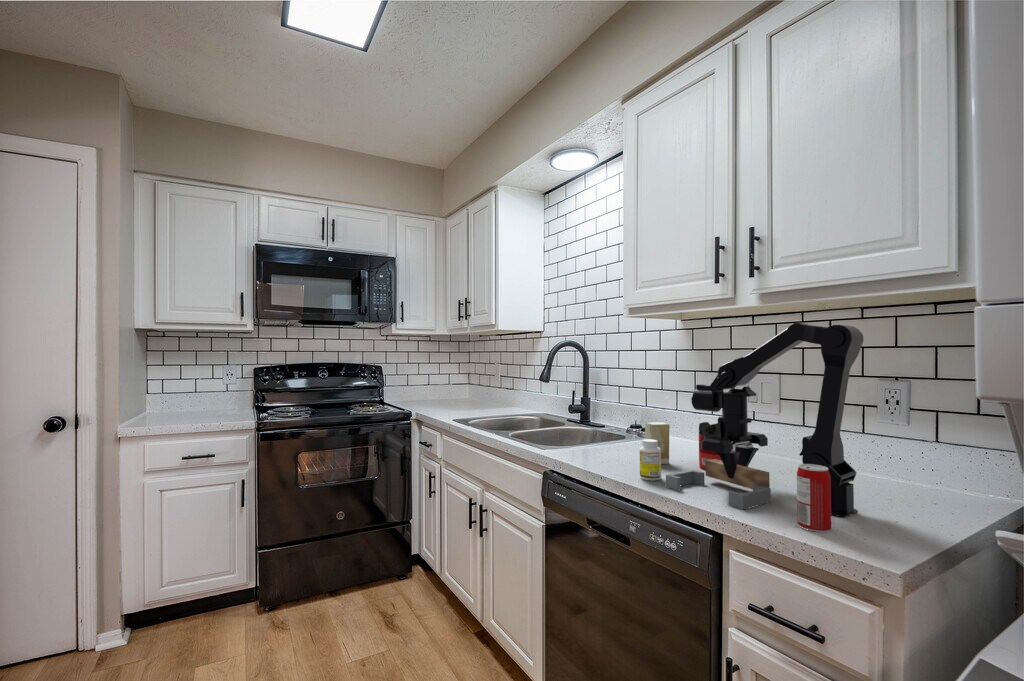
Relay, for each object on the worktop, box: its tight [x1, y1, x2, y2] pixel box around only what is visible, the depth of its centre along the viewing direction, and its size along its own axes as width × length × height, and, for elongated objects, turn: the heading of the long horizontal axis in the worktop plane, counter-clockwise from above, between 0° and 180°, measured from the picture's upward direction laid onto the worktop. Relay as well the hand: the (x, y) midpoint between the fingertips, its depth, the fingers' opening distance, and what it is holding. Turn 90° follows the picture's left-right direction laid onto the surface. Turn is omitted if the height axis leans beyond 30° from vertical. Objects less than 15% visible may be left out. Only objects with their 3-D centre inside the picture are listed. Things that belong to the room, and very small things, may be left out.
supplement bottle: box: [639, 438, 662, 482], centre depth 132 cm, size 6×6×10 cm
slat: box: [705, 459, 771, 490], centre depth 122 cm, size 16×4×4 cm, turn 25°
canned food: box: [698, 433, 724, 471], centre depth 143 cm, size 8×8×11 cm
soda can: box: [796, 463, 832, 533], centre depth 95 cm, size 6×6×12 cm
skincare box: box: [644, 421, 670, 465], centre depth 151 cm, size 6×4×12 cm
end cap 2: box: [727, 485, 772, 510], centre depth 110 cm, size 4×10×3 cm, turn 122°
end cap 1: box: [665, 469, 705, 491], centre depth 125 cm, size 4×10×3 cm, turn 122°
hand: (735, 477), depth 122 cm, fingers closed on slat, 4 cm apart
